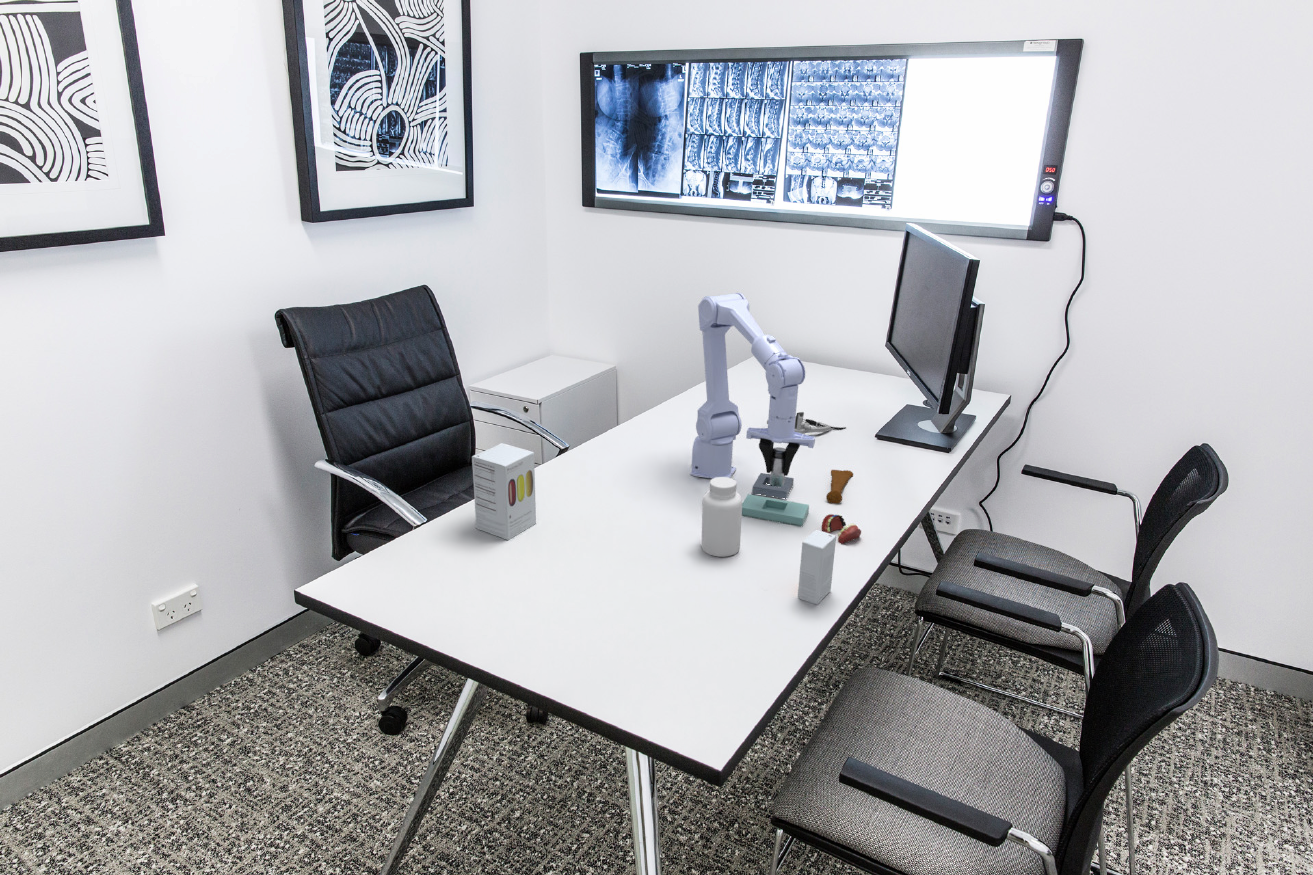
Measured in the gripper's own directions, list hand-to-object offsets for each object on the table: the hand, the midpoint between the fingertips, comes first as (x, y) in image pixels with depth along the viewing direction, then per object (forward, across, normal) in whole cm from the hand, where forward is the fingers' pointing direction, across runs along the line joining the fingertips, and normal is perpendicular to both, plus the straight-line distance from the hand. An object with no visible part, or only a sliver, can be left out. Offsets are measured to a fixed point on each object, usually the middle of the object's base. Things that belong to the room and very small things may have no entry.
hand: (777, 472), depth 185 cm
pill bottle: (+10, -7, -20) cm, 23 cm away
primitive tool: (+10, +11, +19) cm, 24 cm away
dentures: (+10, +15, -5) cm, 19 cm away
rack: (+10, 0, -1) cm, 10 cm away
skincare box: (+10, +14, -30) cm, 35 cm away
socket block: (+10, -3, +11) cm, 15 cm away
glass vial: (+3, 0, 0) cm, 3 cm away
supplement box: (+10, -52, -28) cm, 60 cm away
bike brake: (+10, -3, +52) cm, 54 cm away
